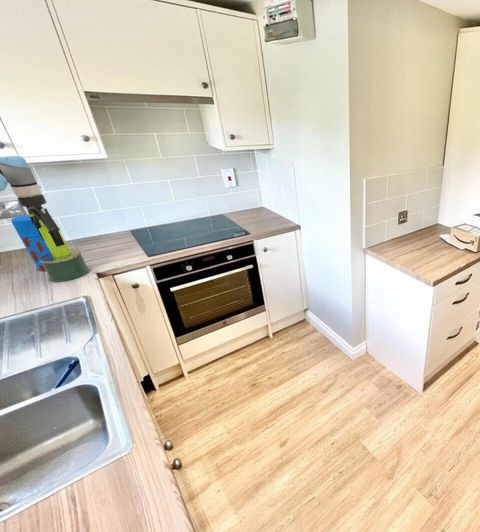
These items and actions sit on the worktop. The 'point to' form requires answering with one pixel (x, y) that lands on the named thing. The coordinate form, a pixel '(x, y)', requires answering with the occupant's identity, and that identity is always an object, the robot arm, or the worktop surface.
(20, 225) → the blue spotted box
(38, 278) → the worktop surface
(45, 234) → the soap dispenser
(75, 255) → the tin
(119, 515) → the worktop surface
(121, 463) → the worktop surface
